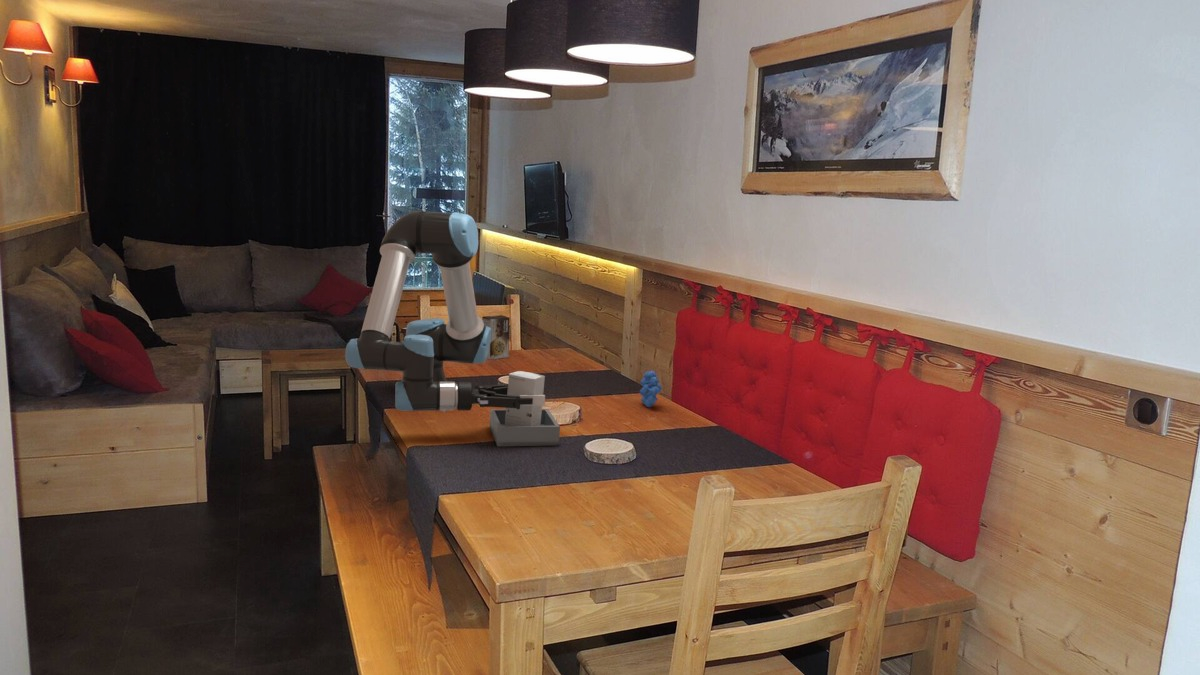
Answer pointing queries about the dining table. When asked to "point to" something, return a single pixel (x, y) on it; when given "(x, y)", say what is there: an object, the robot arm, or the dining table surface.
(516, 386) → the skincare box
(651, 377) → the grapes
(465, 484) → the dining table surface
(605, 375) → the dining table surface
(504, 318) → the coffee box
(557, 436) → the tote
